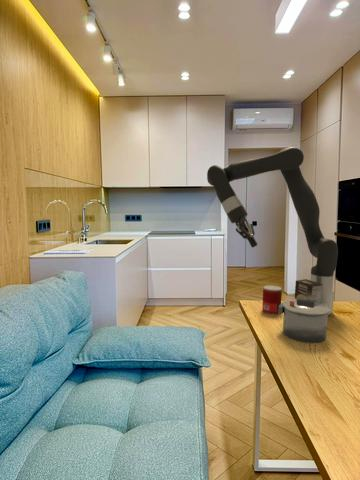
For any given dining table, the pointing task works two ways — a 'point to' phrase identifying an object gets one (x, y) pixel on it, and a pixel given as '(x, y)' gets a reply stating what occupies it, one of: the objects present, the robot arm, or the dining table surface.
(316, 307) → the lid
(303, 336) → the cooker pot
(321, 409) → the dining table surface
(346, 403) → the dining table surface
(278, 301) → the canned food
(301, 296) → the coffee box
